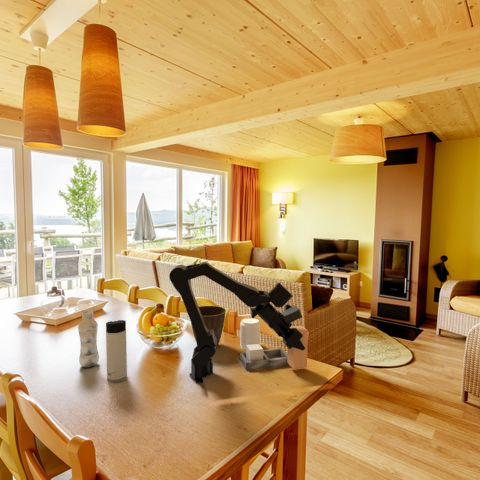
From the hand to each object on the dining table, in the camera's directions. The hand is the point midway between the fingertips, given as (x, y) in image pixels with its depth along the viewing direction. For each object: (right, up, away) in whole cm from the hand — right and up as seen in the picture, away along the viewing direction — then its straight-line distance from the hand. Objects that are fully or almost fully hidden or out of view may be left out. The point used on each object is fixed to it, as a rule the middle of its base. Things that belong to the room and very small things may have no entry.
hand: (301, 346), depth 115 cm
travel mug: (-63, -10, -4) cm, 64 cm away
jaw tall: (-1, -7, 0) cm, 7 cm away
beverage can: (-17, -8, +21) cm, 29 cm away
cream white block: (-16, -8, +6) cm, 19 cm away
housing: (-12, -9, +7) cm, 17 cm away
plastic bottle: (-76, -9, +5) cm, 77 cm away
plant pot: (-35, -8, +22) cm, 42 cm away
